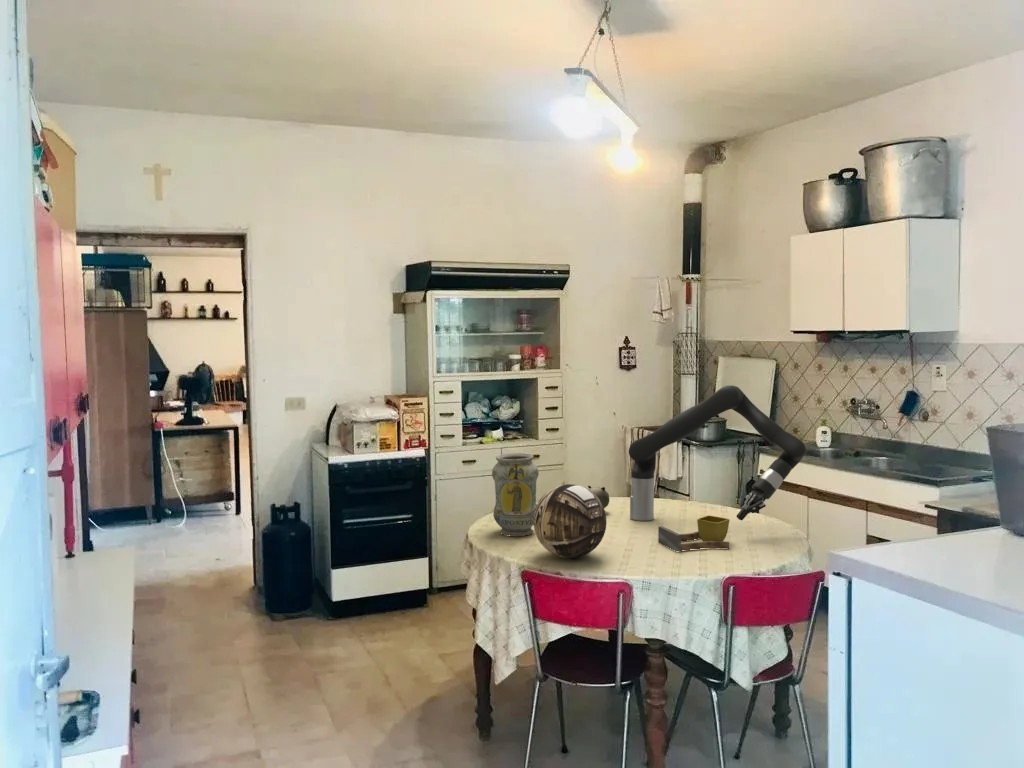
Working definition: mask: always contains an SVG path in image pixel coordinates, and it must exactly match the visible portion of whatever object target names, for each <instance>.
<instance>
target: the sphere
mask: <svg viewBox="0 0 1024 768" xmlns="http://www.w3.org/2000/svg"><path fill="white" fill-rule="evenodd" d="M536 504H537V506H536V509H535V512H534V518H533V524H534V525H533V529H534V530H533V531H534V534H535V535H536V537H537V539H538V541H539V543H540V545H542V547H543V548H544V549H545V550H547V551H548V552H549V553H551V554H552V555H554V556H557V557H558V558H559V557H560V558H564V559H577V558H581V557H585V556H586V555H588V554H590V553H591V552H592V551H594V550H595V549H596V548H597V547H598V546H599V545H600V543H601V542H602V540H603V538H604V537H605V533H606V530H607V515H606V510H605V508H604V507H603V505H602V503H601V501H600V500H599V499H598V497H597V496H596V495H595V494H594V493H592V492H591V491H590V490H589V488H586V487H584V486H582V485H579V484H569V483H568V484H567V483H566V484H561V485H557V486H556V487H553V488H551V489H550V490H548V491H547V492H545V494H543V495H542V497H541V498H540V499H539V500H538V502H537V503H536Z"/></svg>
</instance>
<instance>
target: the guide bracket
mask: <svg viewBox="0 0 1024 768" xmlns="http://www.w3.org/2000/svg"><path fill="white" fill-rule="evenodd" d="M657 527H658V528H657V529H658V531H657V533H658V535H657V537H658V541H657V543H658V542H659V544H660V543H661V544H660V545H662V544H663V545H662V546H664V545H665V546H664V547H666V546H667V547H666V548H668V547H669V548H668V549H670V548H671V549H670V550H672V549H673V550H672V551H674V550H675V551H674V552H676V551H682V550H690V549H700V548H728V549H727V550H730V541H725V540H723V541H704V542H703V541H696V542H694V541H695V540H694V539H697V540H699V539H698V538H700V536H699V532H698V530H697V531H695V532H691V533H690V532H688V533H678V532H675V531H673V530H671V529H670V528H667V527H665V526H663V525H659V526H657ZM700 539H701V538H700ZM687 540H693V541H692V542H688V541H687ZM681 541H683V543H682V542H681ZM685 542H686V543H685ZM682 552H683V551H682Z"/></svg>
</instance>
